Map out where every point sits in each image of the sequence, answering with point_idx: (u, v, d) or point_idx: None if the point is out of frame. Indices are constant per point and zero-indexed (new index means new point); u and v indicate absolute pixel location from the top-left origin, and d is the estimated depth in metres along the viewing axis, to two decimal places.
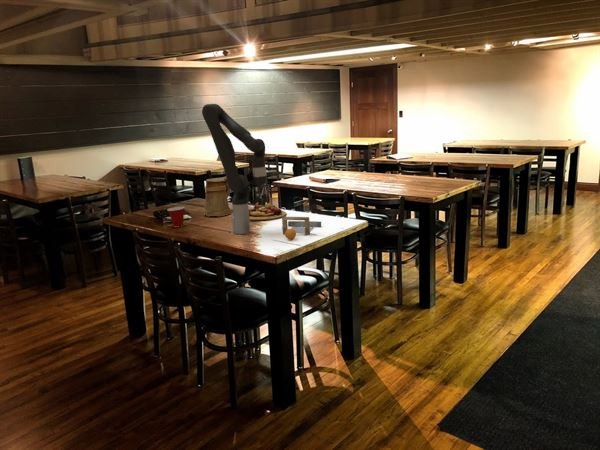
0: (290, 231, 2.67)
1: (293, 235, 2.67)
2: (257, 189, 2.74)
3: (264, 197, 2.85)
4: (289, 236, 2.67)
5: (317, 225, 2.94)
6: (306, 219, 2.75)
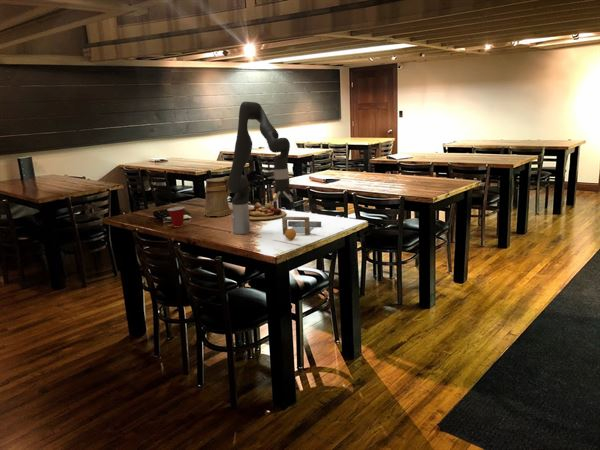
0: (290, 231, 2.67)
1: (293, 235, 2.67)
2: None
3: None
4: (289, 236, 2.67)
5: (317, 225, 2.94)
6: (306, 219, 2.75)
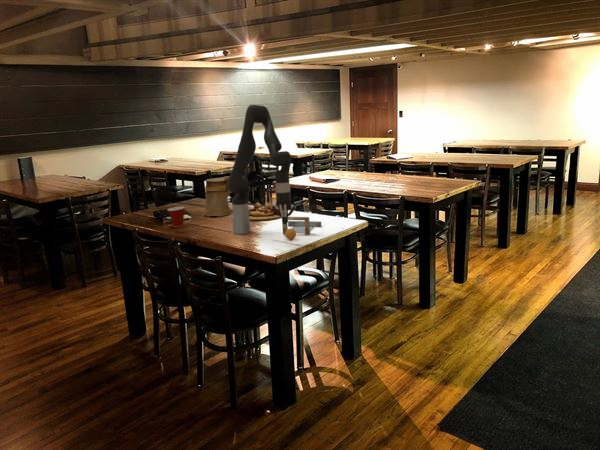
0: (290, 231, 2.67)
1: (293, 235, 2.67)
2: None
3: None
4: (289, 236, 2.67)
5: (317, 225, 2.94)
6: (306, 219, 2.75)
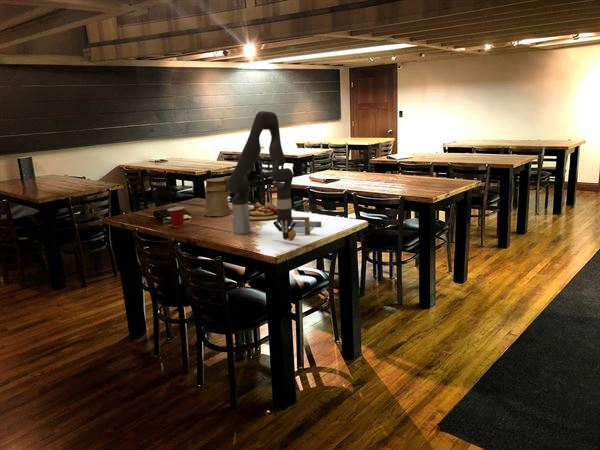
0: (290, 231, 2.67)
1: (293, 235, 2.67)
2: None
3: None
4: (289, 236, 2.67)
5: (317, 225, 2.94)
6: (306, 219, 2.75)
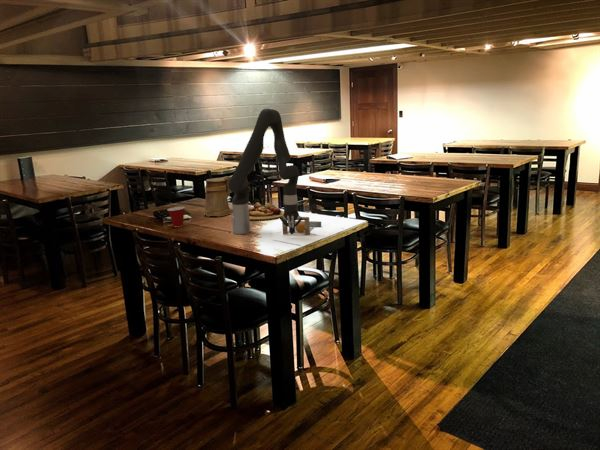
0: (301, 231, 2.82)
1: None
2: None
3: None
4: None
5: (317, 225, 2.94)
6: (306, 219, 2.75)
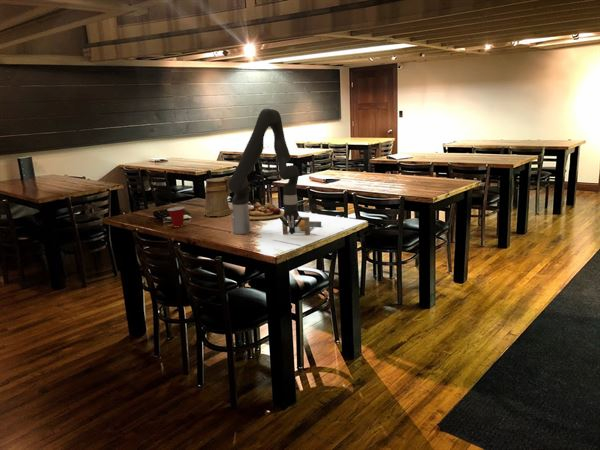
0: (304, 222, 2.85)
1: None
2: None
3: None
4: (303, 227, 2.85)
5: (317, 225, 2.94)
6: (306, 219, 2.75)
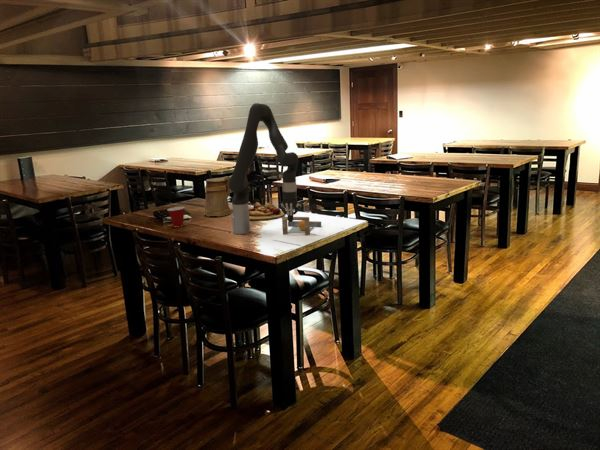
0: (304, 222, 2.85)
1: None
2: None
3: None
4: (303, 227, 2.85)
5: (317, 225, 2.94)
6: (306, 219, 2.75)
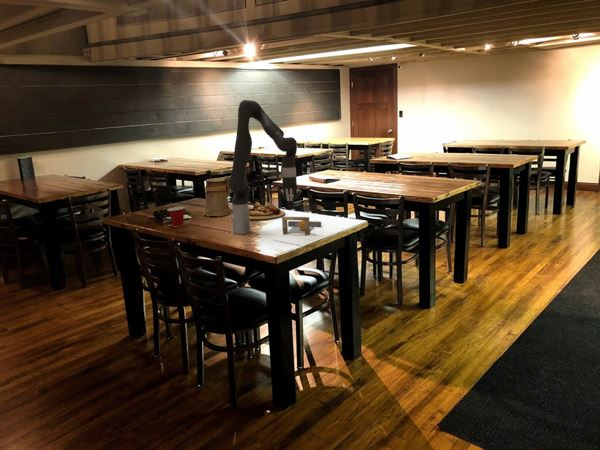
0: (304, 222, 2.85)
1: None
2: None
3: None
4: (303, 227, 2.85)
5: (317, 225, 2.94)
6: (306, 219, 2.75)
